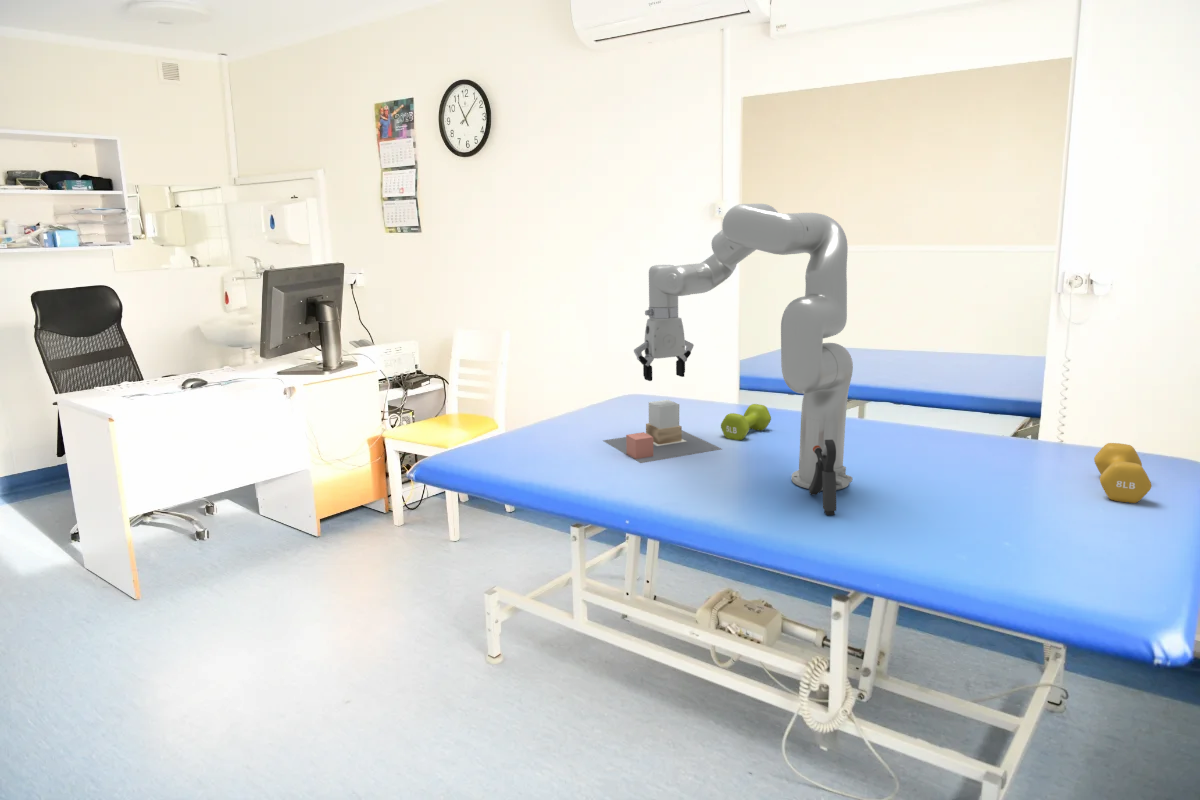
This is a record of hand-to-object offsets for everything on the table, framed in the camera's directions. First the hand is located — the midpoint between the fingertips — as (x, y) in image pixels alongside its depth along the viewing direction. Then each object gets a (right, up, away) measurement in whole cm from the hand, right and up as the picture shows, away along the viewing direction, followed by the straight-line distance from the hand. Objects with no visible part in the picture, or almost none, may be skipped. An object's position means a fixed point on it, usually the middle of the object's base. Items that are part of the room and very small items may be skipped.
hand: (664, 378), depth 205 cm
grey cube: (0, -13, +3) cm, 13 cm away
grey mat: (-1, -18, 0) cm, 18 cm away
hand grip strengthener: (+29, -28, -43) cm, 59 cm away
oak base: (0, -16, +4) cm, 17 cm away
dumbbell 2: (+95, -25, -37) cm, 105 cm away
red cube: (-7, -20, -9) cm, 23 cm away
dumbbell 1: (+23, -16, +9) cm, 29 cm away
